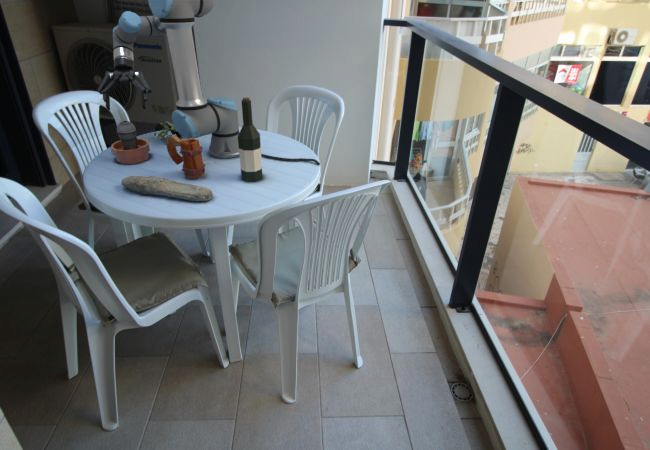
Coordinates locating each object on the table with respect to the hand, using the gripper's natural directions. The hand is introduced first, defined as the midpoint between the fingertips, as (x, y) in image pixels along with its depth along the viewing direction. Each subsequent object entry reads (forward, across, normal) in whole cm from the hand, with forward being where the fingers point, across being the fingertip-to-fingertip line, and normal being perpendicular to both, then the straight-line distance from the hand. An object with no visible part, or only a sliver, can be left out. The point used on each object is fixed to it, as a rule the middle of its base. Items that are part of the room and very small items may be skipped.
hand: (126, 108), depth 160 cm
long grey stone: (+44, -17, +17) cm, 50 cm away
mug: (+34, -24, +7) cm, 42 cm away
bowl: (+19, 0, -7) cm, 20 cm away
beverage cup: (+19, 0, -8) cm, 20 cm away
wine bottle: (+38, -47, +12) cm, 62 cm away
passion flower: (+6, -14, -20) cm, 25 cm away
